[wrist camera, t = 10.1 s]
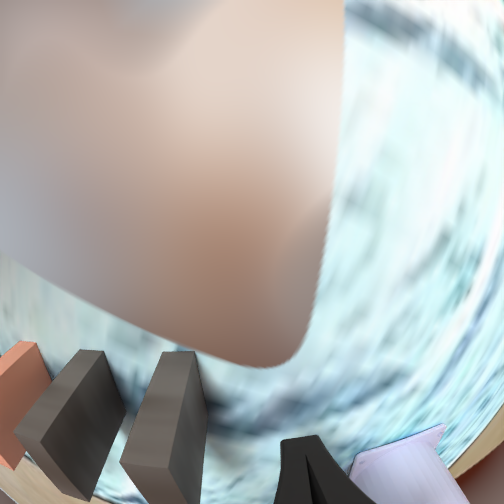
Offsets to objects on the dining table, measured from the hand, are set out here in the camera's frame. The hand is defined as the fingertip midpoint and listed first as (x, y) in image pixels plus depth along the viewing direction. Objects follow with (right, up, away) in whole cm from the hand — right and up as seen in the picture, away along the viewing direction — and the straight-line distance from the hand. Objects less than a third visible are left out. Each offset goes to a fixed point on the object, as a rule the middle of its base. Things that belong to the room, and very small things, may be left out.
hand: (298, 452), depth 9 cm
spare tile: (-15, 0, +4) cm, 16 cm away
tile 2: (-10, 0, +5) cm, 11 cm away
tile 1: (-5, +1, +5) cm, 7 cm away
